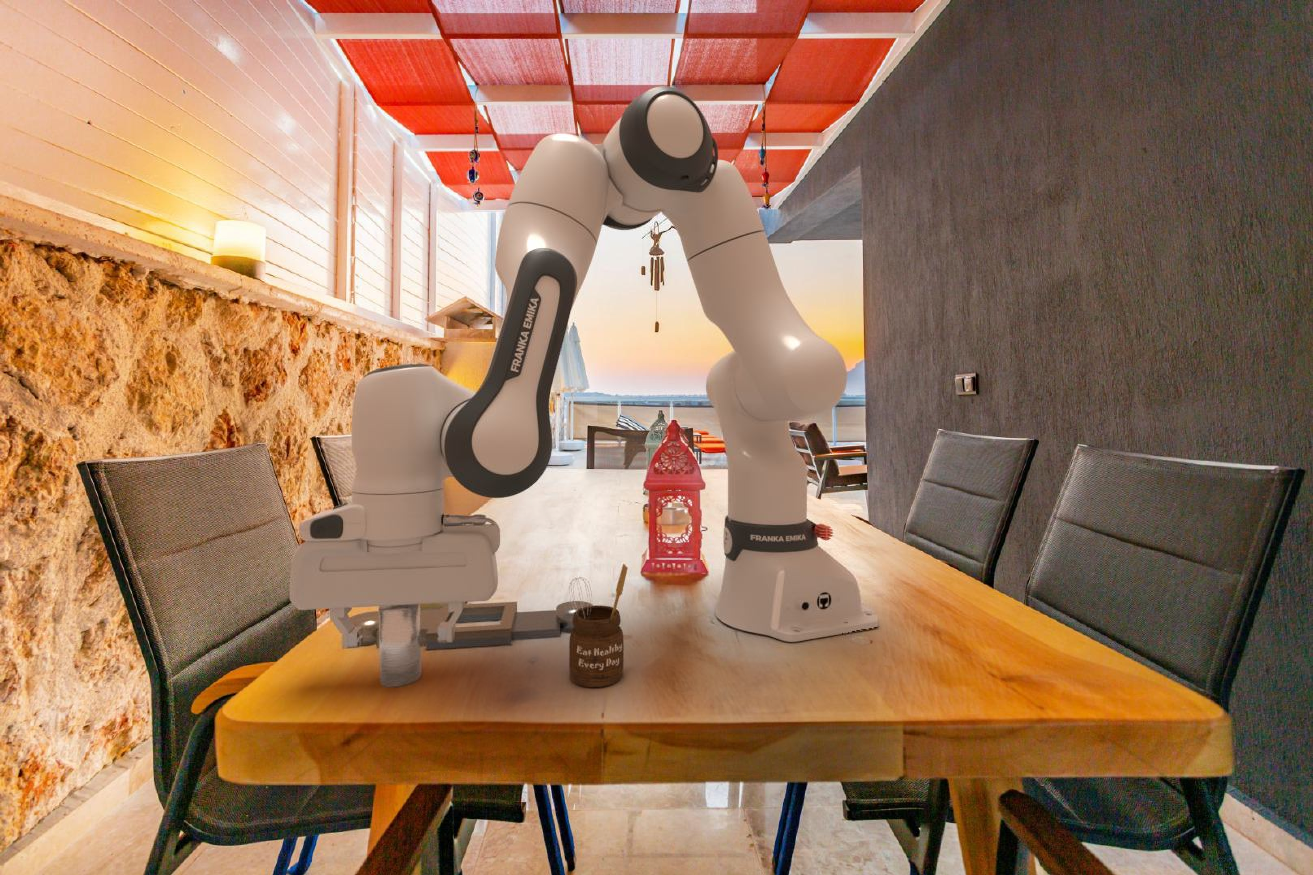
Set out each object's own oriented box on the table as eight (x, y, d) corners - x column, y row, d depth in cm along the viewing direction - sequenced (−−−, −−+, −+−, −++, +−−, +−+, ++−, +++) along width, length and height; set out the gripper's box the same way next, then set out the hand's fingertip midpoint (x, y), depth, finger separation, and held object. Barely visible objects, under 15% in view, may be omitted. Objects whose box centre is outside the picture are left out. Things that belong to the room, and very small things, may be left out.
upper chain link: (517, 615, 77) (517, 598, 77) (511, 644, 67) (511, 624, 67) (361, 624, 74) (361, 605, 73) (331, 655, 64) (331, 635, 64)
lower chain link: (590, 611, 79) (590, 594, 79) (595, 638, 69) (595, 619, 69) (443, 619, 75) (442, 601, 75) (426, 649, 66) (425, 629, 66)
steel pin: (425, 667, 61) (423, 597, 61) (415, 685, 57) (414, 610, 57) (387, 670, 60) (385, 599, 60) (374, 688, 56) (373, 612, 56)
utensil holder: (564, 667, 61) (565, 562, 61) (619, 660, 63) (619, 558, 63) (573, 692, 56) (573, 577, 55) (632, 684, 58) (633, 572, 57)
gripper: (502, 509, 63) (502, 626, 63) (309, 513, 59) (310, 637, 60) (496, 519, 57) (496, 649, 57) (280, 524, 53) (282, 663, 54)
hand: (400, 643), depth 58 cm, fingers open, 8 cm apart
